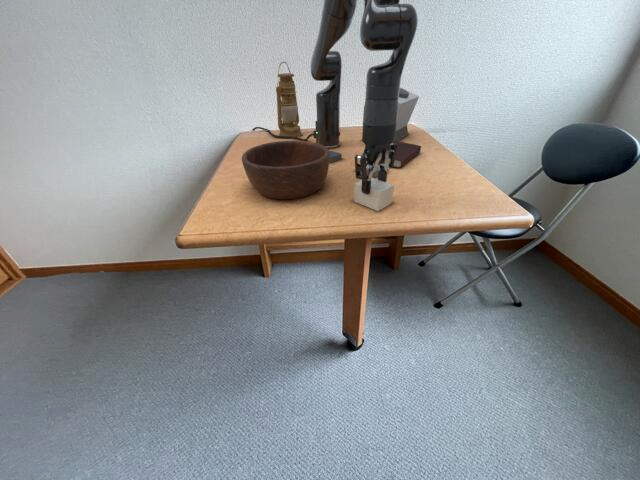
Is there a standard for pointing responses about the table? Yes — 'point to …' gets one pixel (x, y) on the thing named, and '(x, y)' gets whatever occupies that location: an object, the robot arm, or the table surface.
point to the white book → (376, 188)
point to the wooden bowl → (287, 168)
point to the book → (405, 153)
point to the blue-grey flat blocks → (337, 156)
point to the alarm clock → (404, 112)
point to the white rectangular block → (372, 201)
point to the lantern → (287, 105)
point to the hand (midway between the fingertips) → (373, 189)
